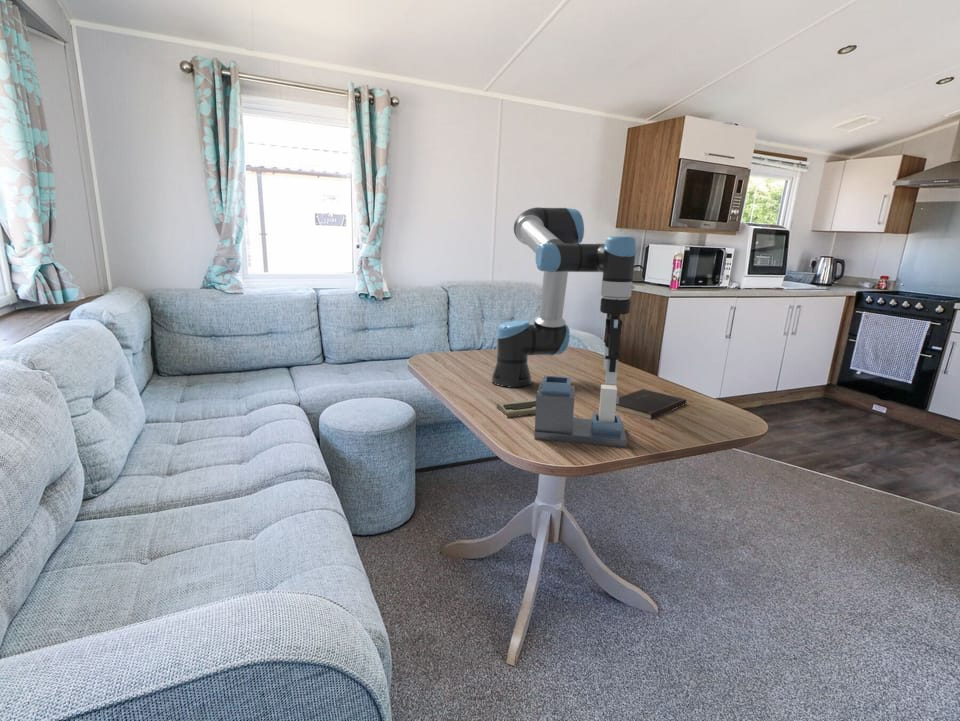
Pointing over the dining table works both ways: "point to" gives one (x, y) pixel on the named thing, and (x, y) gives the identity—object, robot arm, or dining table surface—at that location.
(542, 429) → the stepped holder stand
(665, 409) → the hardcover book
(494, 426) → the dining table surface
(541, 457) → the dining table surface
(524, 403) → the olive rectangular tray
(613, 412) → the plug
